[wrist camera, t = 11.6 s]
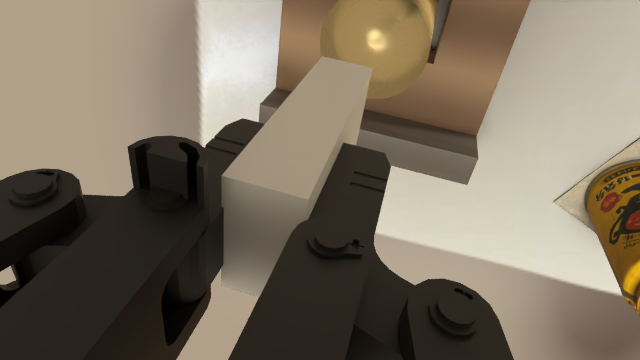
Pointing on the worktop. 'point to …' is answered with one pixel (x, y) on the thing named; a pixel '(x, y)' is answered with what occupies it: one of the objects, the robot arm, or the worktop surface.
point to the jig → (416, 84)
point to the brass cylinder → (381, 40)
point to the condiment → (613, 215)
